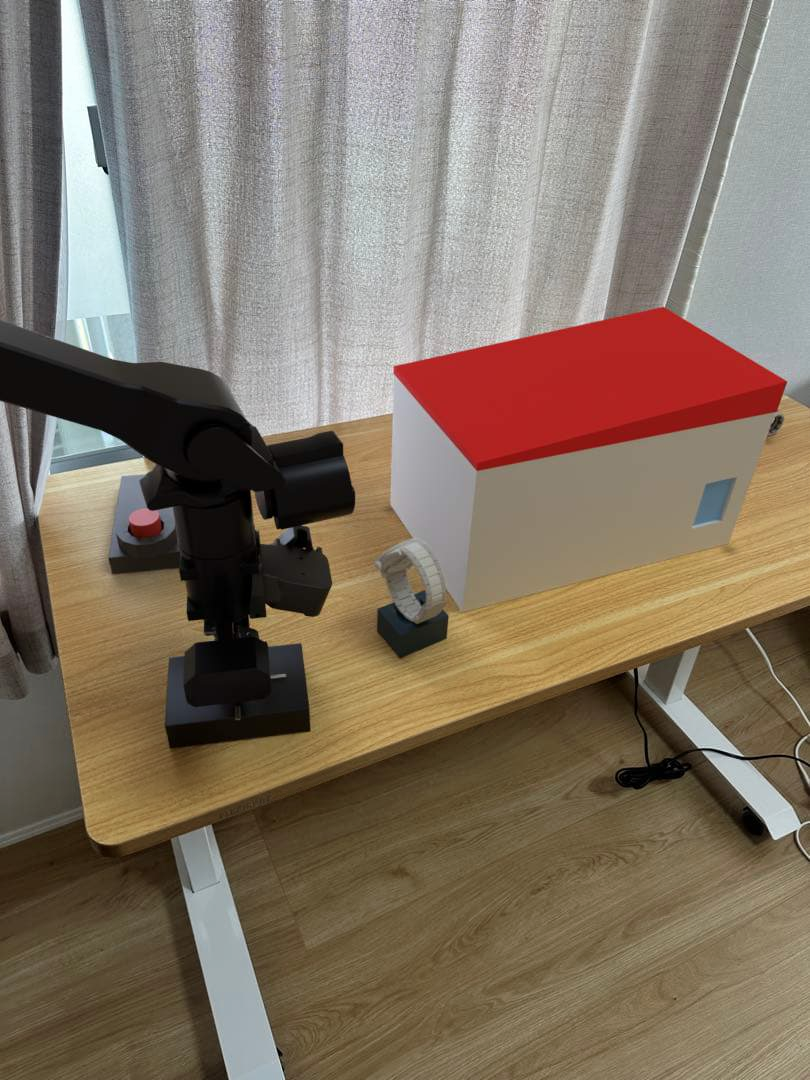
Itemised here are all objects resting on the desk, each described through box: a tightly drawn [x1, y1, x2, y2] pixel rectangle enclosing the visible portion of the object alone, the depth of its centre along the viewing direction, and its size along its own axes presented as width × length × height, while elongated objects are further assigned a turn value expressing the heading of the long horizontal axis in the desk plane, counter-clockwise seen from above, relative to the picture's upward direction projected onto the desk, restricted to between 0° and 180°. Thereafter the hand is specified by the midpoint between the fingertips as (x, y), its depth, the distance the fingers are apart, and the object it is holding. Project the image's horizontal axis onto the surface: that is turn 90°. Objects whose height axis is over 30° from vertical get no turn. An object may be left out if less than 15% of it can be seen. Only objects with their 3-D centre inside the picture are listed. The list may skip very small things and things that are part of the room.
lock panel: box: [164, 642, 312, 750], centre depth 72 cm, size 12×9×3 cm
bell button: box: [128, 509, 162, 538], centre depth 86 cm, size 3×3×2 cm
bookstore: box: [389, 306, 788, 613], centre depth 90 cm, size 21×35×21 cm, turn 112°
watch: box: [374, 538, 450, 659], centre depth 77 cm, size 6×8×11 cm
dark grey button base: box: [107, 473, 180, 575], centre depth 92 cm, size 16×8×4 cm, turn 11°
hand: (236, 678), depth 71 cm, fingers closed on lock knob, 4 cm apart
